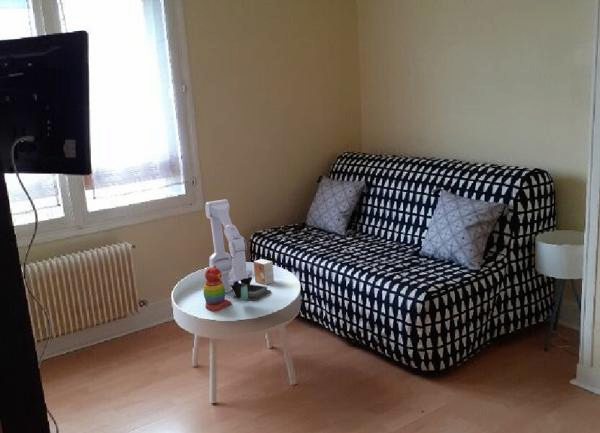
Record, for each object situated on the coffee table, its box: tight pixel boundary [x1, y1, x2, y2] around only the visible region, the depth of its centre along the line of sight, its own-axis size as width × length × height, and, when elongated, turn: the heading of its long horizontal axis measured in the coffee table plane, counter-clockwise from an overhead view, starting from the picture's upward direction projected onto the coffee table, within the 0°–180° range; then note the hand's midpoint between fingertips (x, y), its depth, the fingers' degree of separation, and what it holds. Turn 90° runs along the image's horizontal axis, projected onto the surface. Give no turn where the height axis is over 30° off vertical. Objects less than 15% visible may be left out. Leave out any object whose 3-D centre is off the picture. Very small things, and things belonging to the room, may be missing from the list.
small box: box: [253, 258, 275, 286], centre depth 292 cm, size 8×6×10 cm
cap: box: [236, 282, 248, 302], centre depth 262 cm, size 5×5×6 cm
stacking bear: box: [203, 266, 232, 312], centre depth 264 cm, size 11×10×18 cm
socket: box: [234, 283, 272, 302], centre depth 276 cm, size 12×12×3 cm
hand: (242, 295), depth 263 cm, fingers closed on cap, 5 cm apart
